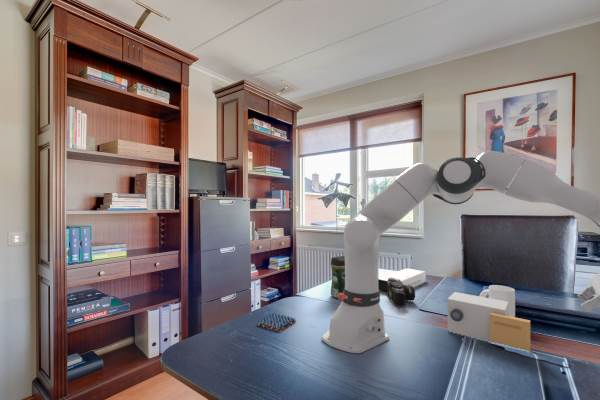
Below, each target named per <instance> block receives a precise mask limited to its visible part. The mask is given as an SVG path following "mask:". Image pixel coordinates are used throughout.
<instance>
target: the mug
mask: <svg viewBox="0 0 600 400" xmlns="http://www.w3.org/2000/svg"><path fill="white" fill-rule="evenodd" d="M479 296H480V297H485V298H487V296H488V298H491V299H496V300H502V301H507V302H508V309H509V316H511V317H516V290H515V288H513V287H510V286H507V285H506V286H505V285H499V284H491V285H489V286H488V288H487V289H485V290H483V291H481V292H480V294H479Z"/></svg>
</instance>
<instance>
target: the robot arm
mask: <svg viewBox="0 0 600 400" xmlns="http://www.w3.org/2000/svg"><path fill="white" fill-rule="evenodd" d="M480 188H487V189H490V190H493V191H496V192H499V193H501V194H503V195H505V196H508V197H511V198H513V199H516V200H521V201H524V202H528V203H543V204H551V205H555V206H558V207H561V208H564V209H566V210H568V211H571V212H574V213H576V214H578V215H581V216H584V217H586V218H587V219H589V220H591V221H592V222H594V224H596V225H597V227H599V228H600V195H597V194H594V193H592V192H589V191H586V190H584V189H582V188H581V189H580V188H577V187H575V186H574V185H573V186H572V185H570V184H569V183H566V182H564V180H563V179H561V178H560V177H558V175H557V174H556V173H555V172H554V171H553V170H552V169H549V168H547V167H545V166H543V165H541V164H540V163H537V162H535V161H533V160H531V159H527V158H525V157H521V156H519V155H515V154H511V153H506V152H502V151H496V150H485V151H483V152H482V153H480V154H479V155H478V156H477V157H474V156H473V157H452V158H449V159H447V160H445V161H443V162H442V163H441V164H440V165H439V167H438V169H435V168H433V167H432V166H431V165H429V164H427V163H424V162H417V163H415V164H413V165H412V166H410V167H408V168H407V169H406V170H404V171H403V172H401V173H400V174H399V175H398V176H396V178H394V179H393V180H392V181H391V182H390V183H388V185H386V186H385V188H383V189H382V190H381V191H380V192H379V193H378V194H377V195H375V197H373V199H371V200H370V201H369V202H368V203H367V204H366V205H365V206H364V207H362V209H360V210H359V211H358V213H356V214H355V215H354V216H353V217H352V218H350V220H348V222H347V223H346V224H345V226H344V229H343V244H344V245H343V250H344V255H343V256H345V288H344V291H343V294H342V293H339V295H338V298H337V299H338V300H341V302H340V304H339V306H337V307H338V308H337V309H336V310H335V312H334V313H333V315H332V316H331V319H330V322H329V329H328V330H327V331H325V332H324V334H323V335H322V336H321V340H322V342H323V343H324V344H327V345H329V347H333V348H335V349H337V350H340V351H343V352H347V353H353V354H361V353H364V352H366V351H368V350H370V349H372V348H374V347H376V346H378V345H381V344H383V343H384V342H387V341H388V340H389V339H390V338H389V337H390V336H389V334H388V333H387V332H386V330H385V329H386V328H385V315H384V311H383V309H382V307H381V305H380V302H381V291H380V290H379V289H378V278H379V261H380V260H379V258H380V255H379V254H380V237H381V235H383V234H385V233H386V232H387V231H388V230H389V229H391V228H392V227H393V226H394V225H396V224H397V223H399V222H400V221H401V220H402V219H404V217H406V216H407V215H409V213H411V211H413V210H414V208H416V207H417V206H418V205H419V204H421V203H422V201H424V200H425V199H426V198H428V197H429V196H431V195H432V196H433V197H435V198H437V199H439V200H441V201H443V202H444V203H448V204H450V205H461V204H464V203H466V202H468V201H470V199H471V198H472V197H473V195H474V194H475V191H476V189H480ZM589 283H590V285H588V286H587V287H586V288H585V289H583V290H582V291H581V292H579V293H578V294H577V297H578V299H579V300H581V302H582V303H580V306H581V308H582V309H583V310H585V312H591V311H592V310H594V309H598V308H600V272H598V273H596V274H595V275H593V276H591V278H589ZM594 295H595V296H594ZM592 297H593V298H592Z"/></svg>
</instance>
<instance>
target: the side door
mask: <svg viewBox="0 0 600 400" xmlns="http://www.w3.org/2000/svg"><path fill="white" fill-rule="evenodd" d="M490 341H491V342H495V343H500V344H504V345H508V346H511V347H515V348H520V349H524V350H528V351H530V352H531V320H529V319H524V318H521V317H520V318H519V317H516V316H515V317H511V316H506V315H502V314H497V313H492V312H491V313H490Z"/></svg>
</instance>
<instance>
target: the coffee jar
mask: <svg viewBox="0 0 600 400" xmlns="http://www.w3.org/2000/svg"><path fill="white" fill-rule="evenodd" d="M330 259H331V260H330V267H331V285H330V287H331V288H330V296H331V297H333V298H334V299H338V295H339V293H342V294H343V291H344V288H345V255H341V256H340V255H339V256H333V257H331V258H330Z"/></svg>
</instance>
